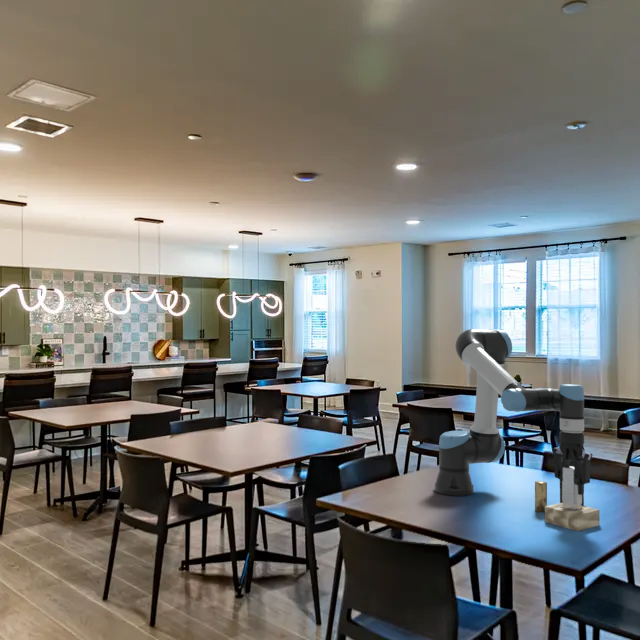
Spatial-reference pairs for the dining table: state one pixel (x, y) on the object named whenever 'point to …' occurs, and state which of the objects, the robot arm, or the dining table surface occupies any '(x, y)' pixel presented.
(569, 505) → the square bit
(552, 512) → the socket block
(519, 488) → the dining table surface
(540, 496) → the round bit
